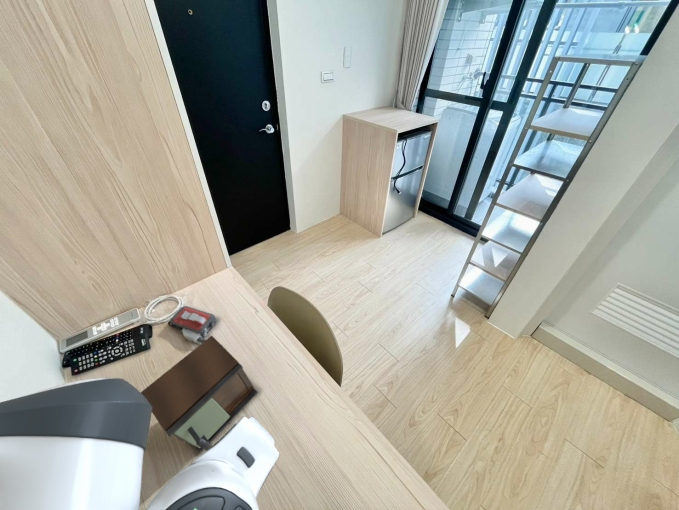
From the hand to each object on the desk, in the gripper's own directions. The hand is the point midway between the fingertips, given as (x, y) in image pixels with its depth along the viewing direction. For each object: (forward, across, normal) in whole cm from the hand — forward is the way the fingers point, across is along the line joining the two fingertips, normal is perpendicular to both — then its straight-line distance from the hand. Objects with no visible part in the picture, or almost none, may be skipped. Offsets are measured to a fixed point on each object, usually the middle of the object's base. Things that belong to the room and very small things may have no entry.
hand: (199, 495), depth 37 cm
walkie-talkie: (+35, +21, +28) cm, 50 cm away
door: (+23, +7, +3) cm, 24 cm away
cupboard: (+27, +11, +9) cm, 31 cm away
